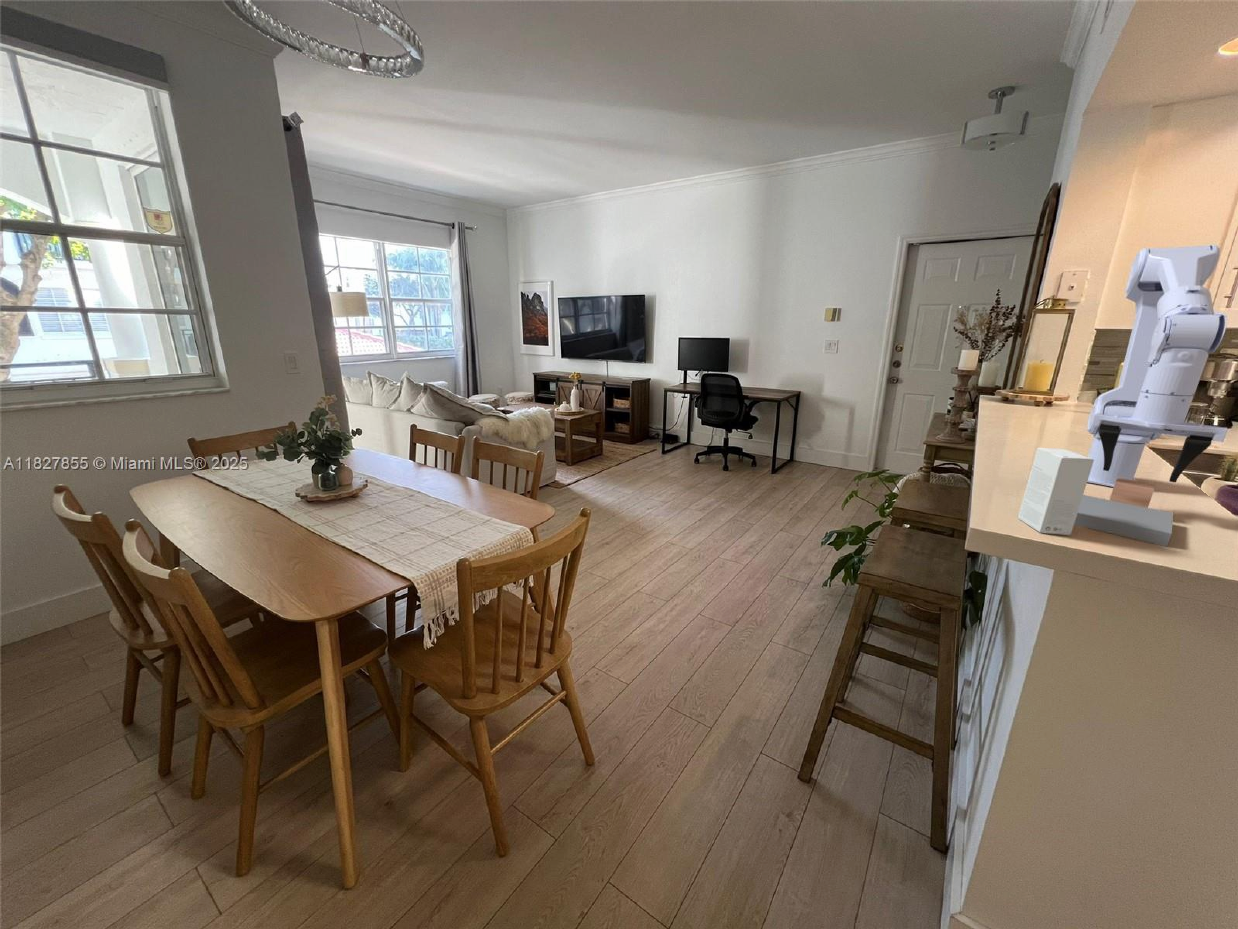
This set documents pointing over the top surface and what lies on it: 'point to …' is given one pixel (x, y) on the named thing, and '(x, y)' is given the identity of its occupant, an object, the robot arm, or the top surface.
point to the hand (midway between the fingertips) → (1138, 475)
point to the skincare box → (1055, 490)
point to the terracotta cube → (1132, 492)
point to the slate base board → (1125, 520)
